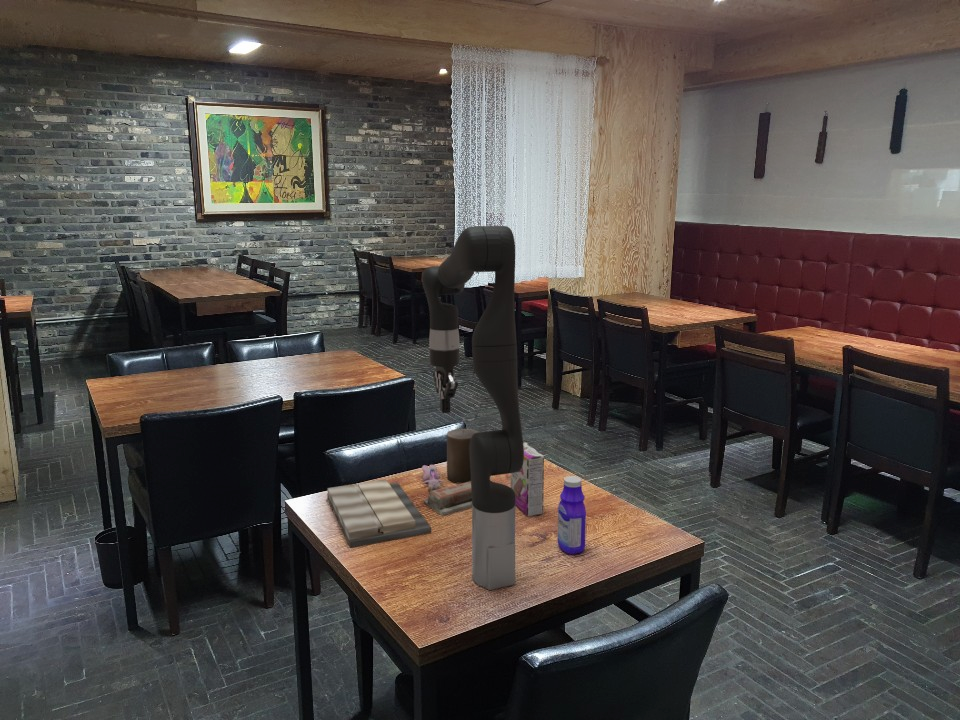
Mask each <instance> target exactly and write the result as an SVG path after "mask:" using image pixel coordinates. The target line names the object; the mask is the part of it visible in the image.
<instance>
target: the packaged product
mask: <svg viewBox="0 0 960 720" xmlns="http://www.w3.org/2000/svg"><path fill="white" fill-rule="evenodd" d="M422 501H423V503H424V504H425V505H426V506H428V507H429V508H430V509H432V510H433V511H434V510H435V511H434V512H436V513H437V514H438V513H439V514H438V515H440V516H442V517H444V516H447V515H451V514H454V513H459V512H462V511H465V510H469V509H472V491H471V481H470V482H466V483H457V484H454V485H450V486H445V487H441V489H437V490H433V491H431V492H430V491H429V493H428V496H427V499H424V500H422Z"/></svg>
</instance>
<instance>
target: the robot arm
mask: <svg viewBox="0 0 960 720" xmlns="http://www.w3.org/2000/svg"><path fill="white" fill-rule="evenodd" d="M489 272H491V273H492V272H494V284H493V289H492V294H491V298H490V299H489V302H488V303H487V306H486V308H485V309H484V311H483V313H482V315H481V317H480V318H479V320H478V322H477V324H476V326H475V328H474V331H473V332H472V338H471V349H472V350H471V353H472V367H473V368H472V369H473V371H474V374H475V375H476V377H477V378H478V380H479V382H480V384H481V385H482V386H483V388H484V389H485V390H486V392H488V394H489V396H490V397H491V398H492V400H493V401H494V403H495V405H496V407H497V409H498V412H499V417H500V421H501V429H497V430H490V431H489V430H487V431H486V430H485V431H478V433H475V434H473V435H472V437H471V440H470V447H469V453H470V468H471V491H472V508H471V536H472V537H471V544H472V545H471V552H472V553H471V559H472V560H471V561H472V565H471V566H472V567H471V568H472V569H471V572H472V577H471V579H472V580H473V582H474V583H475V584H477V585H478V586H481V587H484V588H486V589H487V590H488V591H491V590H496V589H500V588H505V587H509V586H514V585H515V584H516V496H515V492H514V490H513V489H512V488H511V486H508V485H506V484H503V483H500V482H495V481H492V480H491V477H494V476H500V475H507V474H509V475H510V474H511V473H515V472H518V471H520V470H521V468H522V466H523V461H524V446H523V443H524V438H523V428H522V420H521V413H520V412H521V411H520V403H519V401H520V400H519V383H518V381H519V380H518V345H517V331H516V316H515V315H516V314H515V285H516V284H515V280H516V279H515V278H516V242H515V236H514V232H513V231H512V229H511V228H510V227H509V226H507V225H474V226H469V227H466V228H465V229H464V230H462V231H461V232H460V234H459V235H458V237H457V239H456V241H455V244H454V245H453V248H452V251H451V252H450V255H449V256H448V257H447V258H446V259H445V260H443V261H442V262H441V264H440V265H437V266H428V267H426V268H425V269H424V270H423V272H422V274H421V283H422V288H423V290H424V293H425V296H426V300H427V305H428V309H429V339H428V340H429V341H428V343H429V364H430V365H431V366H433V367H435V372H434V371H433V372H432V376H433V377H432V378H433V382H434V387H435V390H436V394H437V395H438V397H439V398H440V399H439V400H440V401H439V403H440V404H439V405H440V409H439V410H440V412H441V413H443V414H450V412H451V399H452V398H455V395H456V391H457V389H458V386H459V383H458V381H454V380H455V379H456V378H455V375H456V374H455V372H454V367H456V366H459V364H460V333H459V309H458V307H457V306H456V305H455V304H452V303H447V302H446V303H445V302H442V301H441V300H440V298H439V296H446V295H448V296H449V295H458V294H461V293H462V292H463V291H464V289H465V284H466V283H468V282H469V281H470V280H471V278H472V277H473V276H474V273H489Z"/></svg>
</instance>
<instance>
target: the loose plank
mask: <svg viewBox="0 0 960 720" xmlns="http://www.w3.org/2000/svg"><path fill="white" fill-rule="evenodd" d="M390 484H391V483H389V482H388V480H387V478H386V479H378V480H373V481H365V482H359V483H357V485H358V487H359V489H360V490H361V492H362V494H363V495H364V497H365V499H366V500H367V502H368V504H369V505H370V507H371V509H372V510H373V512H374V514H375V516H376V517H377V519H378V521H379V522H380V524H381V526H382V529H379V531H380V532H383V534H386V533H391V532H397V531H402V530H408V529H413V528H415V520H414V518H413V517H412V515H411V514H410V513H409V511H408V510H407V508H406V507H405V506H404V504H403V503H402V501H401V500H400V499H399V497H398V496H397V494H396V493H395V491H394V490H393V489H392V487H391V486H390Z"/></svg>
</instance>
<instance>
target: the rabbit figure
mask: <svg viewBox="0 0 960 720" xmlns="http://www.w3.org/2000/svg"><path fill="white" fill-rule="evenodd" d="M421 467H422V468H421V469H422V472H423V476H422V480H423V482H422V483H421V484H422V485H425V484H427V483H428V485H427V489H428V491H429V492H431V491H433V490H437V489H441V488H442V487H441V483H444V482H445V481H444V480H442V479H440V478H441V475H440V474H439V473H438V471H437V470H438V468H437V467H436V465H435V464H429V466H428V465H425V464H424V465H422V466H421Z"/></svg>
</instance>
